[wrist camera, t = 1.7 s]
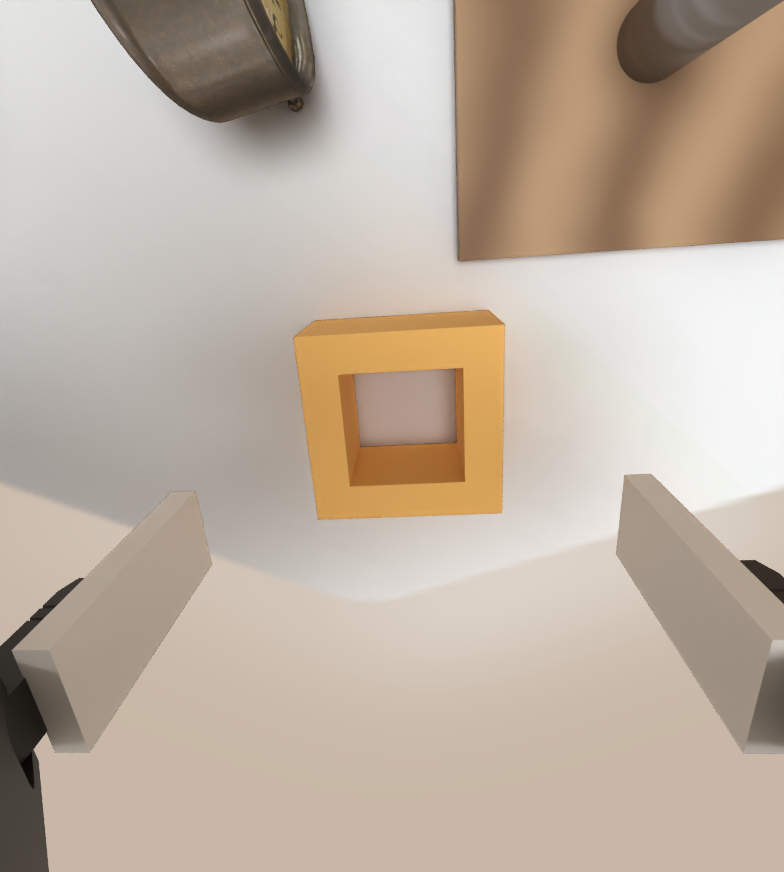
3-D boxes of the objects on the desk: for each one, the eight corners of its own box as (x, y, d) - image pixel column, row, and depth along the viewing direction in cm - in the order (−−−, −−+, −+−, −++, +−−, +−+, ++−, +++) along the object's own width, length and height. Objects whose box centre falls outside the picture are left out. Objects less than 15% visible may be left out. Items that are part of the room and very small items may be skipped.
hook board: (458, 260, 25) (477, 267, 17) (450, -183, 19) (474, -468, 11) (796, 237, 24) (977, 233, 16) (894, -238, 18) (1246, -591, 10)
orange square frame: (333, 475, 29) (318, 519, 25) (315, 320, 26) (293, 337, 21) (487, 469, 29) (502, 513, 24) (488, 309, 26) (504, 324, 21)
